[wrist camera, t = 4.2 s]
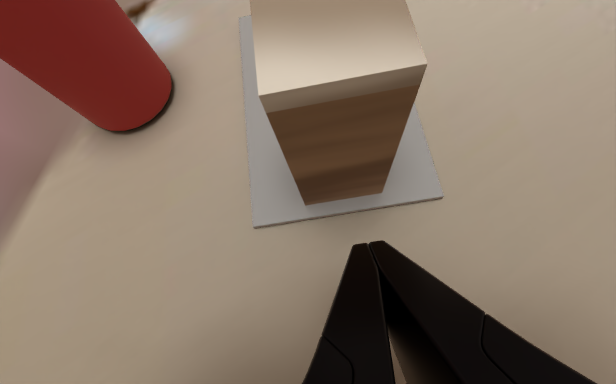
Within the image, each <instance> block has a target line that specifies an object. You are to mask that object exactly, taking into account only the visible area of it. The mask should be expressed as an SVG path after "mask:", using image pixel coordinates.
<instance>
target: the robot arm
mask: <svg viewBox="0 0 616 384" xmlns="http://www.w3.org/2000/svg"><path fill="white" fill-rule="evenodd" d="M388 335H389V336H388ZM389 338H390V340H391V343H392V346H393V348H394V351H395V353H396V356H397V359H398V361H399V364H400V366H401V369H402V372H403V374H404V377H405V380H406V382H407V384H597V383H595V382H593V381H592V380H590V379H588V378H587V377H585V376H583V375H582V374H580V373H578V372H577V371H575V370H573V369H572V368H570V367H568V366H567V365H565V364H563V363H562V362H560V361H558V360H557V359H555V358H554V357H552V356H550V355H549V354H547V353H546V352H544V351H542V350H541V349H539V348H537V347H536V346H534V345H533V344H531V343H529V342H528V341H526V340H525V339H524V338H522V337H521V336H519V335H518V334H516V333H515V332H513V331H512V330H510V329H509V328H507V327H506V326H504V325H503V324H501V323H500V322H499V321H497V320H496V319H494V318H493V317H491V316H490V315H488V314H486V315H485V312H484V311H483V310H481V309H480V308H478V307H477V306H476V305H474V304H473V303H471V302H470V301H468V300H467V299H466V298H464V297H463V296H461V295H460V294H459V293H457V292H456V291H454V290H453V289H451V288H450V287H449V286H447V285H446V284H444V283H443V282H442V281H440V280H439V279H437V278H436V277H434V276H433V275H432V274H430V273H429V272H427V271H426V270H425V269H423V268H422V267H420V266H419V265H417V264H416V263H415V262H413V261H412V260H410V259H409V258H408V257H406V256H405V255H403V254H402V253H400V252H399V251H398V250H396V249H395V248H393V247H392V246H391V245H389V244H388V243H386V242H385V241H382V240H381V241H375V242H370V243H369V244H367V243H362V244H355V245H353V246H352V249H351V252H350V255H349V258H348V260H347V263H346V266H345V269H344V272H343V275H342V278H341V280H340V283H339V286H338V289H337V292H336V295H335V298H334V300H333V303H332V306H331V309H330V312H329V315H328V318H327V320H326V323H325V326H324V329H323V332H322V337H320V340H319V343H318V346H317V348H316V351H315V354H314V356H313V359H312V362H311V364H310V367H309V369H308V372H307V374H306V376H305V378H304V380H303V383H302V384H395V377H394V370H393V363H392V356H391V349H390V342H389Z"/></svg>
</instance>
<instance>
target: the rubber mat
mask: <svg viewBox="0 0 616 384" xmlns="http://www.w3.org/2000/svg"><path fill="white" fill-rule="evenodd" d="M239 30H240V45H241V60H242V74H243V89H244V104H245V119H246V134H247V148H248V163H249V178H250V193H251V207H252V222H253V227H254V228H261V227H267V226H273V225H279V224H286V223H292V222H298V221H304V220H310V219H317V218H323V217H329V216H335V215H342V214H348V213H354V212H360V211H366V210H373V209H379V208H385V207H391V206H398V205H404V204H410V203H416V202H422V201H429V200H435V199H441V198H443V197H444V195H443V192H442V188H441V185H440V182H439V179H438V176H437V173H436V169H435V166H434V163H433V160H432V157H431V154H430V150H429V147H428V144H427V141H426V138H425V135H424V131H423V128H422V125H421V122H420V119H419V116H418V112H417V109H416V106H415V103H414V104H413V107H412V109H411V112H410V115H409V118H408V121H407V124H406V126H405V129H404V132H403V135H402V138H401V141H400V144H399V146H398V149H397V152H396V155H395V158H394V161H393V163H392V166H391V169H390V172H389V175H388V178H387V180H386V183H385V186H384V189H383V192H382V193H379V194H373V195H367V196H361V197H354V198H348V199H342V200H336V201H330V202H324V203H318V204H312V205H306V206H305V204H304V201H303V199H302V197H301V194H300V192H299V190H298V187H297V185H296V183H295V180H294V178H293V176H292V173H291V171H290V169H289V166H288V164H287V162H286V159H285V157H284V155H283V152H282V150H281V148H280V145H279V143H278V141H277V138H276V136H275V133H274V131H273V129H272V126H271V124H270V122H269V119H268V117H267V115H266V112H265V110H264V108H263V105H262V103H261V101H260V98H259V96H258V86H257V75H256V64H255V52H254V41H253V30H252V19H251V15H249V16H244V17H240V18H239Z"/></svg>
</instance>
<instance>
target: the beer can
mask: <svg viewBox="0 0 616 384" xmlns="http://www.w3.org/2000/svg"><path fill="white" fill-rule="evenodd" d="M0 58H1V59H2V60H3V61H5V62H6V63H8V64H9V65H11V66H12V67H14V68H15V69H16V70H18V71H19V72H21V73H22V74H24V75H25V76H26V77H28V78H29V79H31V80H32V81H34V82H35V83H36V84H38V85H39V86H41V87H42V88H44V89H45V90H46V91H48V92H50V93H51V94H52V95H54V96H55V97H56V98H58V99H59V100H61V101H62V102H64V103H65V104H67V105H68V106H70V107H71V108H72V109H74V110H75V111H77V112H78V113H79V114H81V115H82V116H84V117H85V118H87V119H88V120H89V121H91V122H92V123H94V124H95V125H97V126H98V127H101V128H104V129H107V130H111V131H126V130H130V129H133V128H137V127H140V126H142V125H143V124H145V123H147V122H149V121H150V120H152V119H153V118H154V117H155V116H156V115H157V114H158V113H159V112H160V111H161V110H162V109H163V107H164V106H165V104H166V102H167V101H168V98H169V95H170V91H171V87H172V86H171V76H170V73H169V71H168V69H167V68H166V66H165V64H164V63H163V62H162V61H161V59H160V58H159V57H158V55H157V54H156V53H155V51H154V50H153V49H152V48H151V46H150V45H149V44H148V42H147V41H146V40H145V38H144V37H143V36H142V35H141V33H140V32H139V31H138V29H137V28H136V27H135V26H134V24H133V23H132V22H131V20H130V19H129V18H128V16H127V15H126V14H125V13H124V11H123V10H122V9H121V7H120V6H119V5H118V3H117V2H116V1H115V0H0Z"/></svg>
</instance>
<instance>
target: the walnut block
mask: <svg viewBox="0 0 616 384" xmlns="http://www.w3.org/2000/svg"><path fill="white" fill-rule="evenodd" d="M250 7H251V19H252V30H253V41H254V52H255V64H256V75H257V86H258V96H259V98H260V101H261V103H262V105H263V108H264V110H265V112H266V115H267V117H268V119H269V122H270V124H271V126H272V129H273V131H274V133H275V136H276V138H277V141H278V143H279V145H280V148H281V150H282V152H283V155H284V157H285V159H286V162H287V164H288V166H289V169H290V171H291V173H292V176H293V178H294V180H295V183H296V185H297V187H298V190H299V192H300V194H301V197H302V199H303V201H304V204H305V206H306V205H312V204H318V203H324V202H330V201H336V200H342V199H348V198H354V197H361V196H367V195H373V194H379V193H382V192H383V189H384V186H385V183H386V180H387V178H388V175H389V172H390V169H391V166H392V163H393V161H394V158H395V155H396V152H397V149H398V146H399V144H400V141H401V138H402V135H403V132H404V129H405V126H406V124H407V121H408V118H409V115H410V112H411V109H412V107H413V104H414V101H415V98H416V95H417V92H418V89H419V87H420V84H421V81H422V78H423V75H424V72H425V70H426V67H427V64H428V63H427V60H426V57H425V55H424V52H423V49H422V46H421V43H420V41H419V38H418V35H417V32H416V29H415V27H414V24H413V21H412V18H411V15H410V12H409V10H408V7H407V4H406V1H405V0H250Z"/></svg>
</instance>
